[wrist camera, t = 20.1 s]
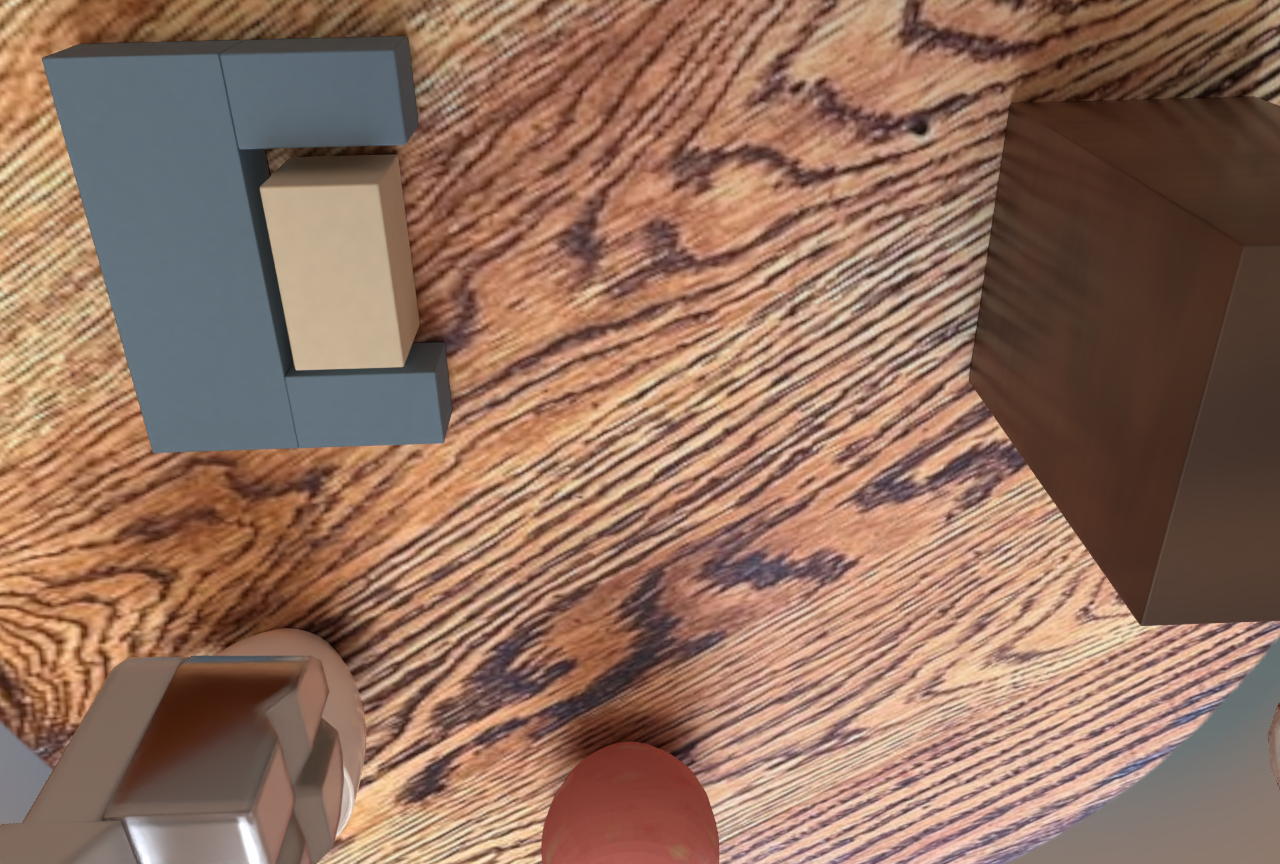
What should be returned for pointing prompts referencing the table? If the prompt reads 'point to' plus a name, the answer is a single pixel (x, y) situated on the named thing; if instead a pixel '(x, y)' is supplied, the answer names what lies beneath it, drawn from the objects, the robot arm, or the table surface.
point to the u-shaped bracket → (232, 232)
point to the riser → (1145, 341)
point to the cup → (341, 701)
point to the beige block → (343, 260)
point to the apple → (630, 811)
